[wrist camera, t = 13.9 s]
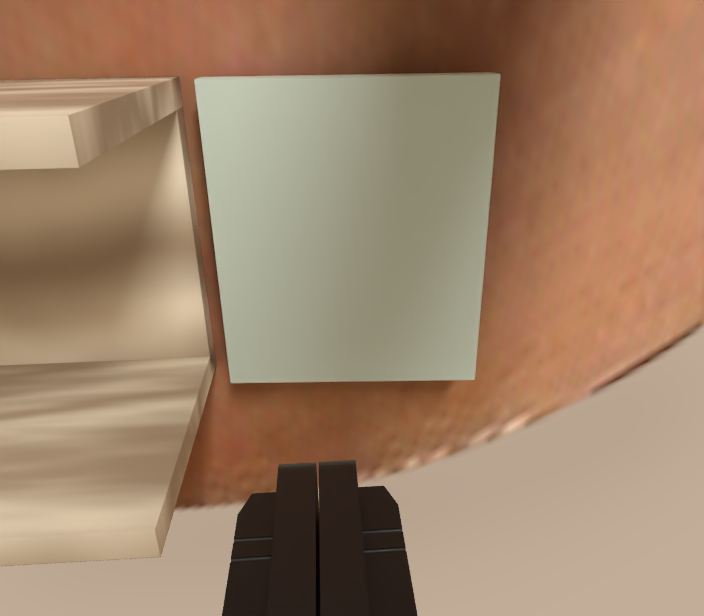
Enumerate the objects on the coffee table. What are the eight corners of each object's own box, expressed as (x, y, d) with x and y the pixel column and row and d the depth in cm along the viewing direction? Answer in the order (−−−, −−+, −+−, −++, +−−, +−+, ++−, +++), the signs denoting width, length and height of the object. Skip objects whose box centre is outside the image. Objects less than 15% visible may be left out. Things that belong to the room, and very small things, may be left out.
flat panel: (194, 79, 23) (500, 74, 23) (201, 76, 24) (493, 72, 24) (230, 383, 29) (474, 379, 29) (235, 370, 30) (470, 367, 30)
